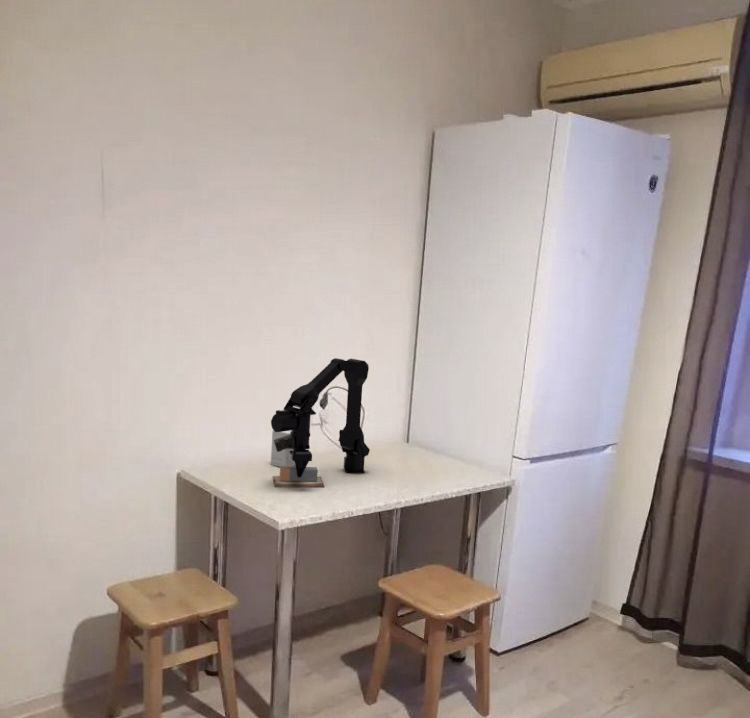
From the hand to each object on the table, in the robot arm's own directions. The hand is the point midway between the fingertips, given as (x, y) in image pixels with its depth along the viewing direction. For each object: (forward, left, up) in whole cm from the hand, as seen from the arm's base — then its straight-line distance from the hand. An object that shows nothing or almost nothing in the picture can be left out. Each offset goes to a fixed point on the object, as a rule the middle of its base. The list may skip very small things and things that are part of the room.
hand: (298, 475), depth 234 cm
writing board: (0, 0, -2) cm, 2 cm away
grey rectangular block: (0, 0, -1) cm, 1 cm away
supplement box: (+3, -21, -2) cm, 22 cm away
